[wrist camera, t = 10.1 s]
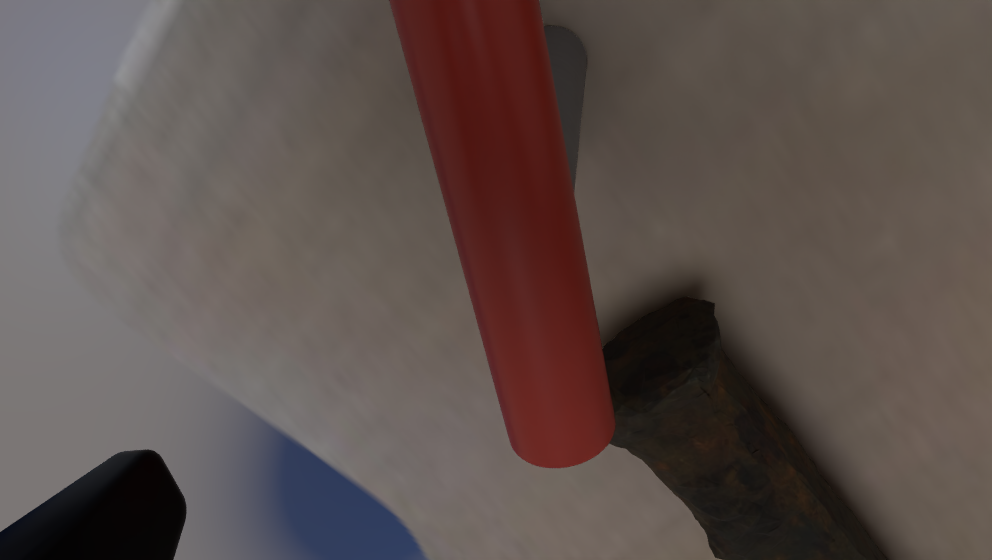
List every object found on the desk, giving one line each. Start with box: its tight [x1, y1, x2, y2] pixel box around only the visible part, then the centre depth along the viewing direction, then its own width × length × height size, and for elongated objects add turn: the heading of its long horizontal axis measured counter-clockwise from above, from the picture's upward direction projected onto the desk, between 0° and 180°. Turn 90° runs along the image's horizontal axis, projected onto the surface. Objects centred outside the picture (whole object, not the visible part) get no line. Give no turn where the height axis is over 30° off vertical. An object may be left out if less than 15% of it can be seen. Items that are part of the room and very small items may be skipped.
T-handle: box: [389, 0, 616, 468], centre depth 14 cm, size 2×8×9 cm, turn 13°
